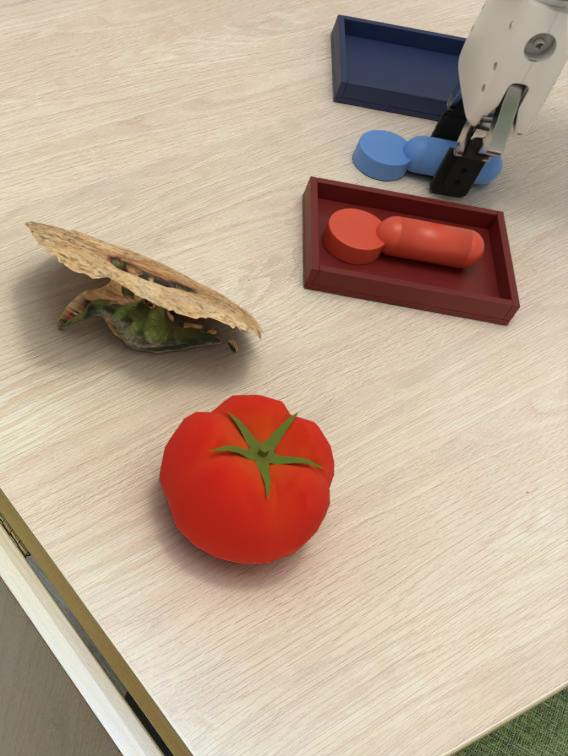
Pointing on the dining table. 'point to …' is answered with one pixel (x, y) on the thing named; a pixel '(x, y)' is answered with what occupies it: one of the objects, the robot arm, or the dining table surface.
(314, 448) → the tomato
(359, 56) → the blue tray
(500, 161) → the blue spoon
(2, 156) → the dining table surface
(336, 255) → the red spoon
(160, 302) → the sandwich
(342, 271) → the red tray
